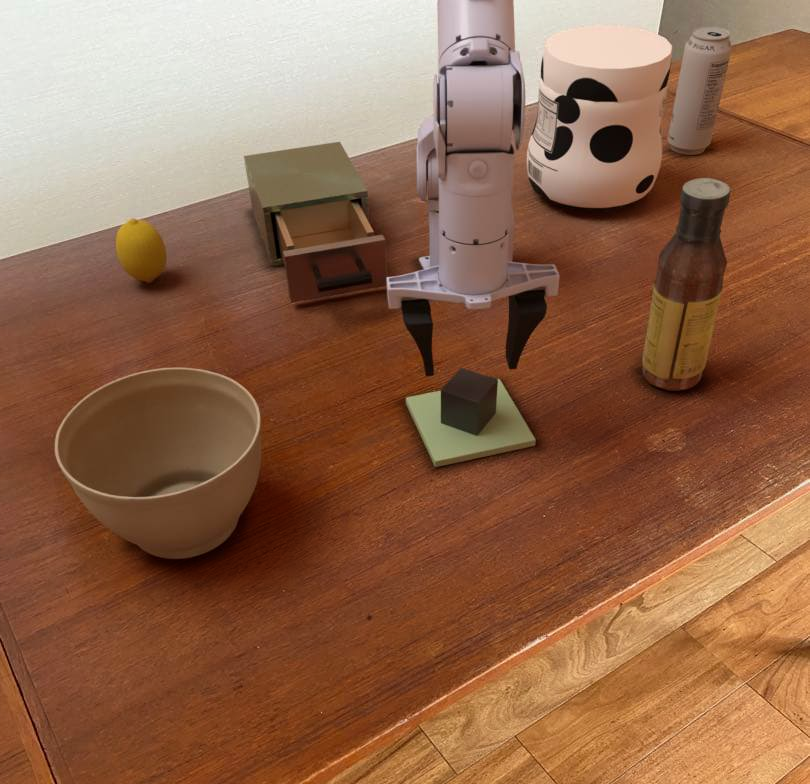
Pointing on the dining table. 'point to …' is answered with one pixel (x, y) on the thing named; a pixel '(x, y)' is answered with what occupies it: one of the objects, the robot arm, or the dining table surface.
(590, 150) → the milk container
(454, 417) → the block
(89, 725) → the dining table surface
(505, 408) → the plate
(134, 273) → the lemon
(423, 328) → the robot arm
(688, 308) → the sauce bottle
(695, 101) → the energy drink can
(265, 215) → the olive box frame
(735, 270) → the dining table surface
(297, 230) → the cabinet drawer
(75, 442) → the planter bowl
